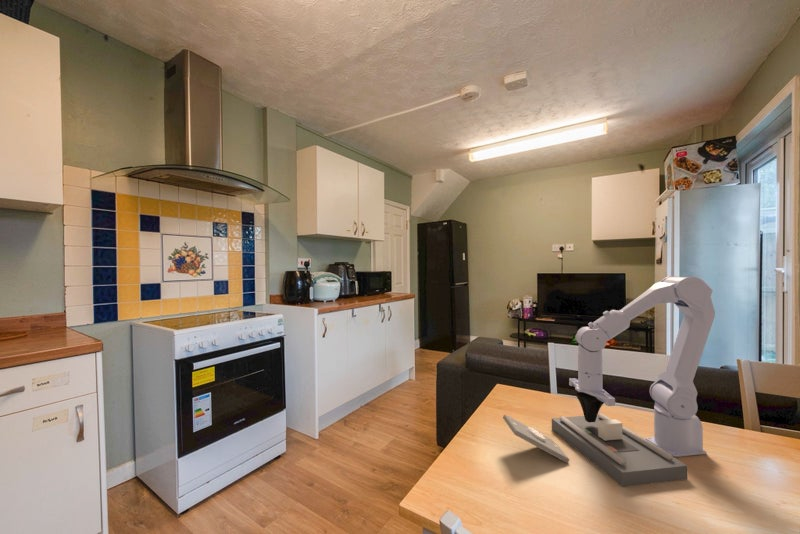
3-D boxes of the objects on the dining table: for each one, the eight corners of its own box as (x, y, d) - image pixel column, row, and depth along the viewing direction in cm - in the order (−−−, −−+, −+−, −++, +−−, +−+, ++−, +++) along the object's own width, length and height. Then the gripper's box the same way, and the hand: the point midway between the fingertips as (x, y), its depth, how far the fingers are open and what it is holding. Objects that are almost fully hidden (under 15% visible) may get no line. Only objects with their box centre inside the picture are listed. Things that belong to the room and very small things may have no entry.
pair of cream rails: (600, 416, 90) (600, 412, 90) (673, 460, 70) (673, 454, 70) (558, 420, 88) (558, 415, 88) (620, 466, 68) (620, 459, 68)
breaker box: (601, 424, 92) (601, 414, 92) (687, 479, 68) (687, 465, 68) (551, 428, 90) (551, 418, 90) (622, 486, 66) (622, 472, 66)
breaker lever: (615, 434, 80) (615, 419, 80) (622, 438, 78) (622, 422, 78) (598, 436, 79) (598, 420, 79) (604, 440, 77) (604, 424, 77)
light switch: (572, 456, 74) (518, 427, 74) (560, 478, 74) (506, 449, 74) (553, 436, 82) (505, 410, 82) (543, 456, 82) (495, 430, 82)
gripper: (559, 364, 92) (559, 410, 92) (597, 381, 78) (597, 436, 78) (581, 363, 93) (581, 408, 93) (622, 380, 79) (622, 434, 79)
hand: (590, 421), depth 85 cm, fingers closed
